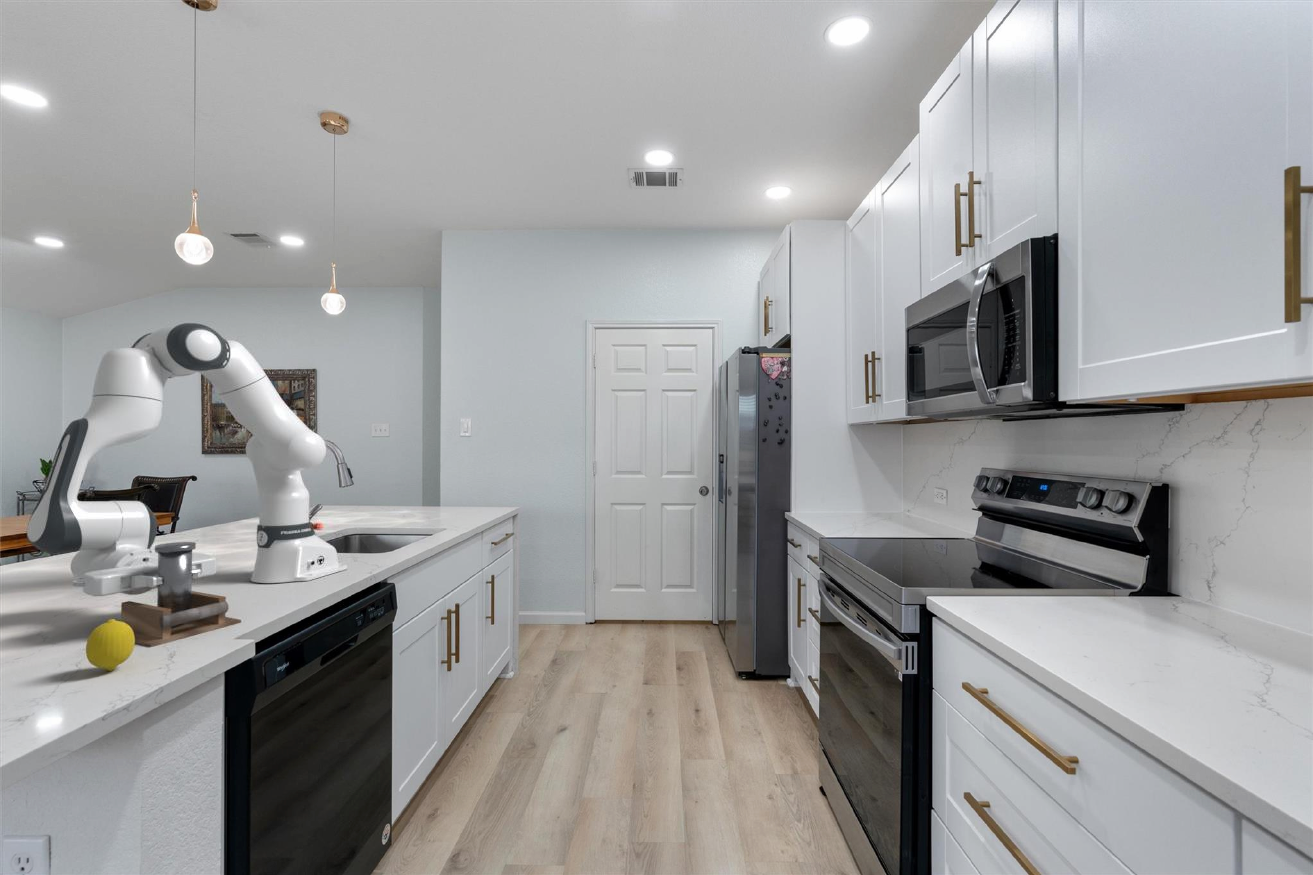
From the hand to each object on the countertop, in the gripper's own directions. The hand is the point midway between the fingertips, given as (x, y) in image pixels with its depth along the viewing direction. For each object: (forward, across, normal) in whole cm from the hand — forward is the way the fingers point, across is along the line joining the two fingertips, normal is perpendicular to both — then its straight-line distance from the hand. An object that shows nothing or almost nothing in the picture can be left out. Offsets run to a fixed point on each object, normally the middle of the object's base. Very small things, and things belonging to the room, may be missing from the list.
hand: (177, 578), depth 110 cm
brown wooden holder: (-1, 0, +10) cm, 10 cm away
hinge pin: (-1, 0, +8) cm, 8 cm away
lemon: (+13, -16, +10) cm, 23 cm away
